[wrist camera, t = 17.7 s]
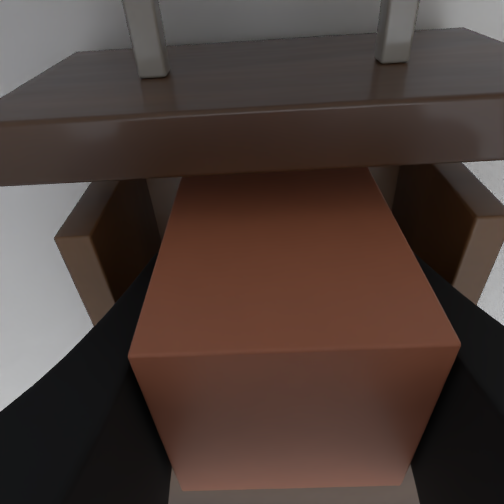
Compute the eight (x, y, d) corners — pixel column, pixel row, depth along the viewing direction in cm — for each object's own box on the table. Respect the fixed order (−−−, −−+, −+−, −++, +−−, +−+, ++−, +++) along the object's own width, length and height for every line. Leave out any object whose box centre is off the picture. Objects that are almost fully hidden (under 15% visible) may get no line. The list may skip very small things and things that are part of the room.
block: (205, 301, 12) (181, 492, 8) (182, 171, 10) (125, 357, 5) (348, 295, 12) (401, 486, 8) (366, 162, 9) (464, 344, 5)
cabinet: (131, 255, 17) (65, 426, 11) (416, 241, 16) (512, 412, 10) (184, 424, 25) (164, 571, 19) (371, 418, 25) (409, 566, 19)
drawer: (-6, -212, 8) (-345, -421, 3) (535, -258, 8) (954, -557, 3) (163, 344, 19) (136, 470, 14) (389, 336, 19) (433, 461, 14)
